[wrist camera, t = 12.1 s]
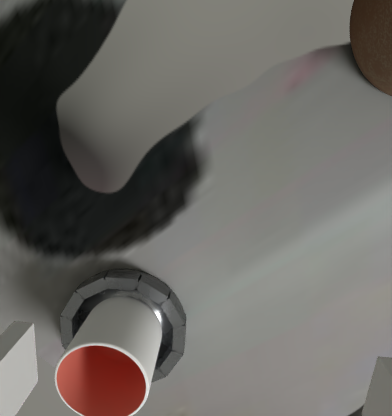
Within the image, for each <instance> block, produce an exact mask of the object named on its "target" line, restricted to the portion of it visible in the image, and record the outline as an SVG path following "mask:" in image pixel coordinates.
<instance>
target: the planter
mask: <svg viewBox="0 0 392 416" xmlns="http://www.w3.org/2000/svg"><path fill="white" fill-rule="evenodd" d="M350 41H351V46H352V51H353V54H354V57H355V60H356V62H357V64H358V66H359V68H360V70H361V71H362V73H363V74H364V76H365V77H366V78H367V79H368V80H369V81H370V82H371V83H372V84H373V85H374V86H375V87H376V88H378V89H379V90H381V91H382V92H384V93H386V94H388V95H390V96H392V0H354V2H353V6H352V10H351V16H350Z"/></svg>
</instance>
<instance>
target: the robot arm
mask: <svg viewBox="0 0 392 416" xmlns="http://www.w3.org/2000/svg"><path fill="white" fill-rule="evenodd" d="M36 361H37V360H36V347H35V334H34V323H28V322H17V321H14V322H13V323H12V324H11V325H10V326H9V327H8V328H7V329H6V330H5V331H4V332H3V333H2V334H1V335H0V416H15V415H16V414H17V412H18V410H19V409H20V408H21V406H22V404H23V403H24V401H25V400H26V398H27V397H28V395H29V394H30V392H31V391H32V389H33V388H34V386H35V385H36V383H37V382H38V373H37V362H36ZM362 415H363V416H392V358H389V357H378V358H377V362H376V365H375V369H374V372H373V376H372V379H371V383H370V386H369V390H368V394H367V397H366V401H365V404H364V408H363V411H362Z"/></svg>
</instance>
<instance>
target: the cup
mask: <svg viewBox="0 0 392 416" xmlns="http://www.w3.org/2000/svg"><path fill="white" fill-rule="evenodd" d="M161 339H162V328H161V324H160V321H159V319H158V317H157V315H156V314H155V312H154V311H153V310H152V309H151V308H150V307H149V306H148V305H147V304H145V303H144V302H142V301H140V300H138V299H135V298H132V297H126V296H118V297H112V298H109V299H106V300H104V301H102V302H100V303H99V304H98V305H96V306H95V307H94V308H93V310H92V311H91V312H90V314H89V315H88V317H87V318H86V320H85V321H84V323H83V324H82V326H81V327H80V329H79V330H78V332H77V333H76V335H75V336H74V338H73V340H72V341H71V343H70V344H69V346H68V347H67V349H66V350H65V352H64V353H63V355H62V356H61V358H60V360H59V361H58V363H57V366H56V369H55V376H54V377H55V385H56V389H57V391H58V393H59V395H60V397H61V399H62V400H63V401H64V403H66V405H67V406H68V407H69V408H71V409H72V410H73V411H75V412H76V413H78V414H79V415H81V416H132V415H133V414H135V413H136V412H137V411H139V409H140V408H141V407H142V406H143V405H144V403H145V401H146V399H147V397H148V393H149V389H150V385H151V381H152V377H153V373H154V368H155V364H156V360H157V356H158V352H159V348H160V343H161Z"/></svg>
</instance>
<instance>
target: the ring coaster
mask: <svg viewBox="0 0 392 416" xmlns="http://www.w3.org/2000/svg"><path fill="white" fill-rule="evenodd" d="M118 296H126V297H132V298H135V299H138V300H140V301H142V302H144V303H145V304H147V305H148V306H149V307H150V308H151V309H152V310H153V311H154V312H155V314H156V315H157V317H158V319H159V321H160V324H161V328H162V339H161V343H160V348H159V352H158V356H157V360H156V364H155V368H154V373H153V377H152V381H151V383H152V382H154V381H157V380H159V379H162V378H164V377H166V376H167V375H168V374H169V373H170V371H171V370H172V369H173V367H174V366H175V365H176V364H177V362H178V361H179V360H180V358H181V357H182V356H183V353H184V348H185V334H186V314H185V313H184V310H183V307H182V305H181V303H180V301H179V299H178V298H177V296H176V295H175V293H174V292H173V291H172V290H171V289H170V288H169V287H168V286H167V285H166V284H165V283H163V282H162V281H160V280H159V279H157V278H156V277H154V276H152V275H150V274H147V273H144V272H141V271H137V270H131V269H114V270H109V271H105V272H102V273H99V274H97V275H95V276H93V277H91V278H90V279H89V280H87V281H85V282H83V283H82V284H80V286H79V287H78V288H77V289H76V290H75V292H74V293H73V295H72V297H71V298H70V300H69V302H68V303H67V305H66V307H65V308H64V310H63V312H62V313H61V316H60V325H61V340H62V344H63V345H62V346H63V347H64V348H65V350H66V349H67V347H68V346H69V344H70V343H71V341H72V340H73V338H74V336H75V335H76V333H77V332H78V330H79V329H80V327H81V326H82V324H83V323H84V321H85V320H86V318H87V317H88V315H89V314H90V312H91V311H92V310H93V308H94V307H95V306H96V305H98V304H99V303H100V302H102V301H104V300H106V299H109V298H112V297H118Z"/></svg>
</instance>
